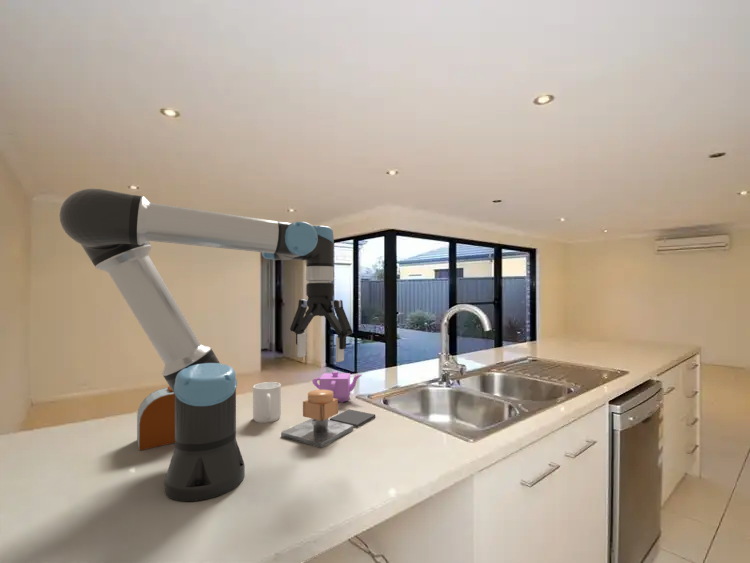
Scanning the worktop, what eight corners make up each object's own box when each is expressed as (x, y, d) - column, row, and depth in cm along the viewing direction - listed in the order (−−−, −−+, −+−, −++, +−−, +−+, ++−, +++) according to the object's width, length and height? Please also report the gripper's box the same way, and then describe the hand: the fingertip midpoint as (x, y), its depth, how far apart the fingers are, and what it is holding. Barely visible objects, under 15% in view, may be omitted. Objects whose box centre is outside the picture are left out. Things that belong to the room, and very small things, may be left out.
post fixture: (321, 447, 94) (321, 411, 94) (281, 436, 101) (281, 402, 101) (353, 429, 106) (353, 397, 106) (315, 420, 113) (315, 390, 113)
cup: (279, 412, 121) (279, 381, 121) (283, 425, 110) (283, 390, 110) (252, 415, 118) (252, 383, 118) (253, 429, 107) (253, 393, 107)
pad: (357, 427, 107) (357, 424, 107) (329, 421, 113) (329, 418, 113) (375, 417, 116) (375, 414, 116) (349, 411, 121) (349, 409, 121)
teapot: (363, 394, 140) (363, 367, 141) (361, 406, 127) (361, 376, 127) (315, 395, 141) (315, 368, 141) (308, 406, 127) (308, 376, 127)
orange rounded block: (197, 427, 108) (197, 380, 109) (203, 436, 101) (203, 386, 102) (136, 439, 100) (137, 388, 100) (139, 450, 93) (139, 396, 93)
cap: (322, 421, 98) (322, 398, 98) (302, 416, 102) (302, 394, 102) (338, 413, 104) (338, 391, 104) (319, 409, 108) (319, 388, 108)
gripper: (365, 281, 101) (365, 360, 100) (296, 282, 113) (296, 352, 113) (349, 281, 94) (349, 365, 94) (277, 282, 107) (277, 356, 107)
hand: (320, 359), depth 103 cm, fingers open, 13 cm apart
